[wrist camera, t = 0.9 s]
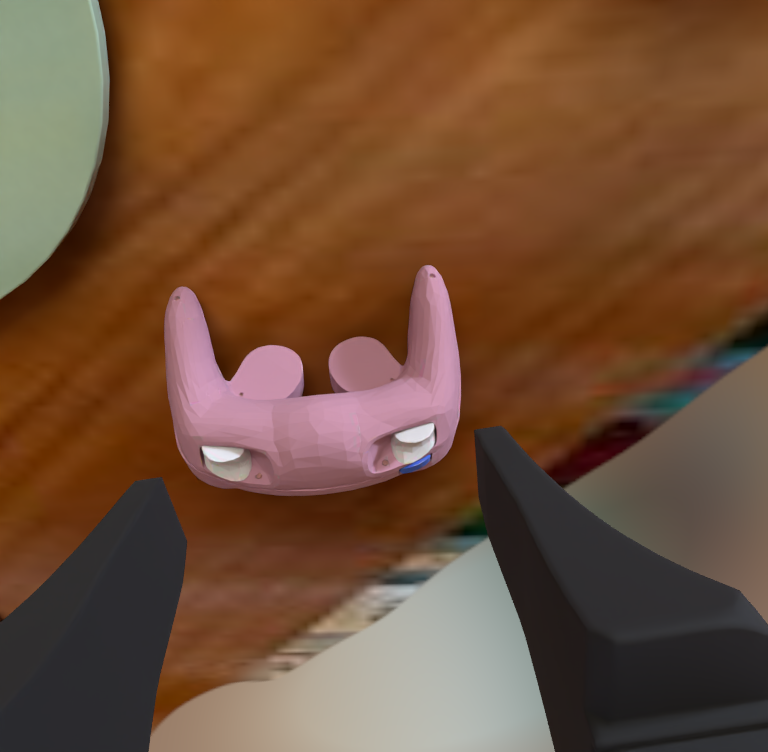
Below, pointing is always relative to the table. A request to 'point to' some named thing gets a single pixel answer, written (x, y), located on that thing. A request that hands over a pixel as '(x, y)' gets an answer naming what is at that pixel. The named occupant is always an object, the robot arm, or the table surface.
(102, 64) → the plate
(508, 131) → the table surface
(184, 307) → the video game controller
